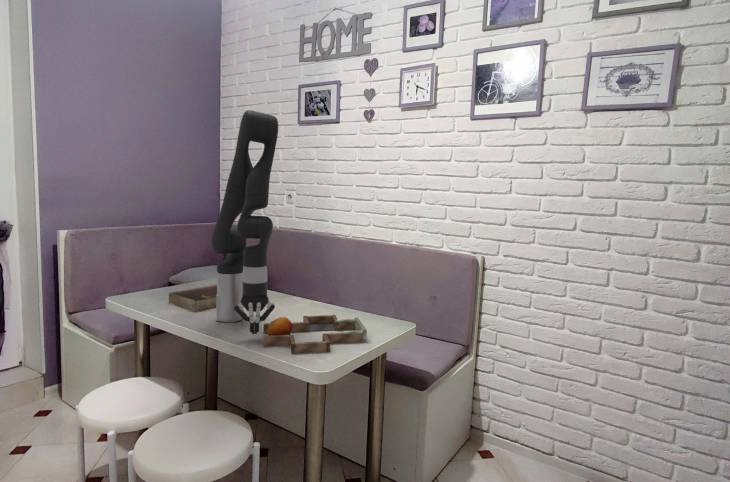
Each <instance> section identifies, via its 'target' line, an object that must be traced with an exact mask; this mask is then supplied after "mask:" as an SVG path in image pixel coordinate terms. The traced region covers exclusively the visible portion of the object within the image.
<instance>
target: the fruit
mask: <svg viewBox="0 0 730 482" xmlns="http://www.w3.org/2000/svg"><path fill="white" fill-rule="evenodd" d="M269 323H270V324H269V325H268V328H267V331H268V332H267V333H266V334H267V336H274V335H292V333H293V332H292V321H291V320H290V319H289V318H287V317H285V316H283V317H282V316H279V317H277V318H275V319H273V320H272V321H270V322H269Z"/></svg>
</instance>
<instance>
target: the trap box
mask: <svg viewBox="0 0 730 482" xmlns="http://www.w3.org/2000/svg"><path fill="white" fill-rule="evenodd" d="M302 318H303V321H299V322H298V321H297V322H292V321H291V323H292V332H291V333H303V332H304V333H307V332H310V333H311V332H325V333H322V337H321V339H322V340H321V341H307V342H306V341H304V342H303V341H302V342H300V341H298V342H296V340H295V339H296V338H295V335H294V334H290V335H274V336H268V335H263V347H264V348H265V347H266V348H267V347H268V348H269V347H284V346H285V347H287V346H289V349H290V354H291V355H298V354H299V355H301V354H321V353H331V345H333V344H335V345H336V344H352V343H354V344H355V343H367V337H368V336H367V335H368V333H367V331H368V330H367V328H366V327H365V325H364V324H363V323H362V322H361V319H360V318H359V317H354V318H345V319H344V318H342V319H341V318H340V319H339V318H338V317H337V315H336V314H327V315H325V314H323V315H322V314H320V315H303V317H302ZM269 324H270V322H268V323H263V329H262V330H263V334H268V333H267V332H268V331H267V328H268V325H269ZM333 331H334V332H333ZM336 331H342V332H336ZM326 332H328V333H326Z"/></svg>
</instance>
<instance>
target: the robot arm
mask: <svg viewBox="0 0 730 482" xmlns="http://www.w3.org/2000/svg"><path fill="white" fill-rule="evenodd" d="M278 135H279V121H278V118H277V117H276V116H275V115H272V114H269V113H264V112H260V111H255V110H252V109H247V110H245V111H244V113H243V114H242V117H241V119H240V124H239V130H238V136H237V141H236V146H235V152H234V156H233V160H232V164H231V169H230V173H229V175H228V178H227V183H226V187H225V191H224V196H223V200H222V204H221V208H220V211H219V215H218V216H217V219H216V222H215V225H214V228H213V230H212V234H211V249H212V250H213V251H214V253H216V254H219V255H220V254H221V255H222V254H224V255H225V254H229V255H228V257H227V258H226V259H224V260H222V261H220V262H219V263H218V264H216V284H217V295H216V308H215V312H216V320H215V321H216V322H223V323H233V322H234V323H235V322H238V321H241V320H243V321H244V322H248V323H249V332H250V333H251V335H257V334H258V333H259V332H260V322H263V321H266V319H267V318H268V317H269V315H270V314H271V313H272V312H273V311H274V309H275V308H276V306H275V303H273V302H271V301H270V300H269V296H268V269H267V268H268V267H267V265H268V264H267V254H268V247H269V242H270V239H271V235H272V233H273V228H274V224H273V221H272V219H271V218H270V217H269V216H266V215H253V213H254V212H255V211H258V210H262V209H265V208H267V207H268V205H269V196H270V195H269V194H270V193H269V192H270V179H271V172H272V168H273V163H274V157H275V153H276V146H277V142H278ZM251 142H254V143H259V144H261V145H264V146H263V151H262V154H261V156H260V158H259V159H258V161H257V162H256V164H255V165H254V166H253V163H252V161H251V157H250V152H249V149H250V148H249V147H250V143H251ZM238 217H239V219H238V221H237V224H236V226H233V225H234V223H235V221H236V219H237V218H238ZM247 239H255V240H256V239H259V243H258V244H254V245H249V246H247ZM265 307H266V310H265V311H264V312H263V313H262V315H261V312H262V311H263V310H264V309H265ZM245 310H246V312H248V313H249V314H247V313H246V312H245ZM254 313H255V315H254ZM248 315H249V316H248ZM254 316H255V317H254Z"/></svg>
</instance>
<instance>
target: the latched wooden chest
mask: <svg viewBox="0 0 730 482" xmlns="http://www.w3.org/2000/svg"><path fill="white" fill-rule="evenodd" d="M216 295H217V283H216V284H211V285H206V286H201V287H200V286H198V287H194V288H189V289H183V290H178V291H177V290H176V291H173V292H172V291H171V292H168V303H169V304H171V303H172V304H171V305H173V304H175V305H174V306H176V305H177V307H179V306H180V308H182V309H184V310H187V311H190V310H191V311H190V312H193V311H194V312H193V313H198V311H199V312H203V311H208V310H211V309H216Z"/></svg>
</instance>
